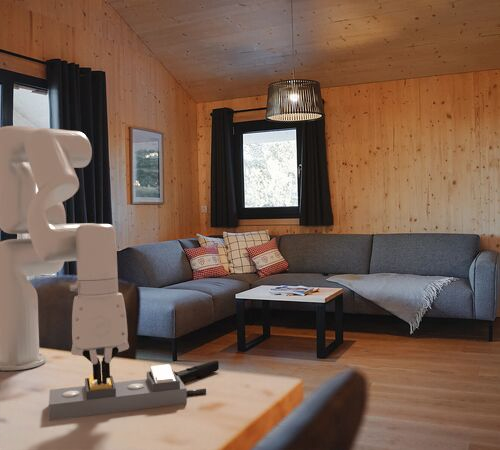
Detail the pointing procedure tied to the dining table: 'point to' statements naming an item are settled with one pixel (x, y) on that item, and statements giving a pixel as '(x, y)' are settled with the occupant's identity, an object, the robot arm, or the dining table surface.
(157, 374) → the white rocker switch
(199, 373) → the electric trimmer
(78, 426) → the dining table surface
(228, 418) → the dining table surface
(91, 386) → the amber rocker
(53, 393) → the power strip
